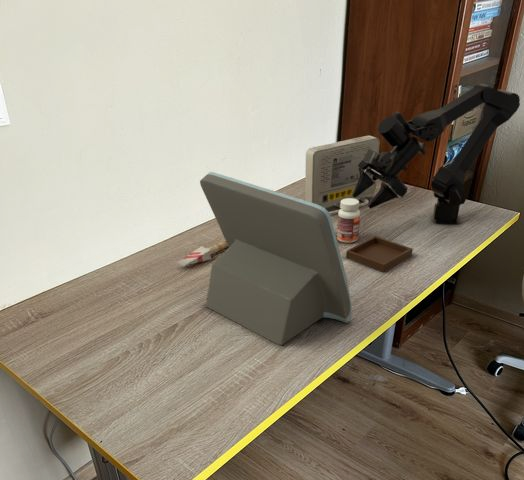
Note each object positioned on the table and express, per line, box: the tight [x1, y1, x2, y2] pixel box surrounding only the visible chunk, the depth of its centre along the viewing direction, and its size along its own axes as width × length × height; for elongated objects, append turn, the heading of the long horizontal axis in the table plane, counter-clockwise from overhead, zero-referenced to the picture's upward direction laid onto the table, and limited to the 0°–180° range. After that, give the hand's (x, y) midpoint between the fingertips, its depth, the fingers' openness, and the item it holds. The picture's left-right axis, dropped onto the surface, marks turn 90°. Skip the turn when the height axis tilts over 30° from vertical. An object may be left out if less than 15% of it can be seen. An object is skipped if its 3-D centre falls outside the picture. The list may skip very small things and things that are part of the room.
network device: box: [304, 135, 380, 216], centre depth 176 cm, size 26×9×20 cm, turn 120°
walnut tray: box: [345, 235, 414, 273], centre depth 151 cm, size 13×12×2 cm
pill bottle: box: [336, 198, 361, 244], centre depth 158 cm, size 6×6×11 cm
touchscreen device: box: [199, 171, 353, 346], centre depth 122 cm, size 35×20×30 cm, turn 45°
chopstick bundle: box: [176, 240, 229, 267], centre depth 154 cm, size 4×3×20 cm
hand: (361, 201), depth 156 cm, fingers open, 9 cm apart
